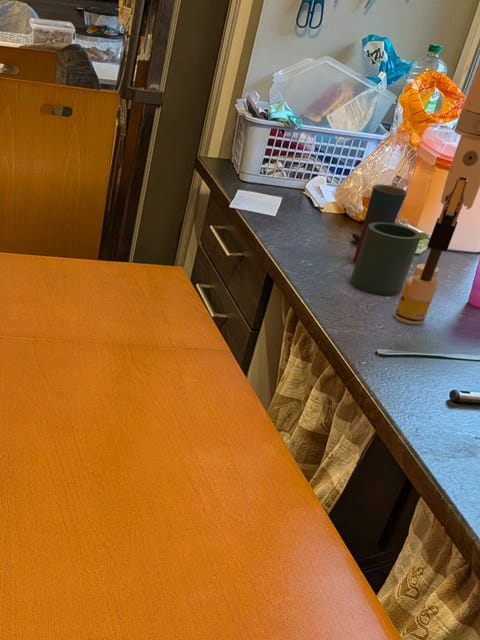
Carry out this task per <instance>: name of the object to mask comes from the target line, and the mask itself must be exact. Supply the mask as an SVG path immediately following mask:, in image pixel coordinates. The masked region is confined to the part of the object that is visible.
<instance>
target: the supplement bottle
mask: <svg viewBox="0 0 480 640" xmlns="http://www.w3.org/2000/svg"><path fill="white" fill-rule="evenodd" d="M425 264H426V263H418V264H417V265H416V267H415V269H414V272H413V274H414V275H411V276H410V277H409V278H408V279H407V280H406V281H405V282H406V283H405V285H404V288H403V291H402V293H401V296H400V299H399V301H398V304H397V307H396V310H395V312H394V317H395V319H396V320H397V321H399V322H400V323H404V324H408V325H415V326H416V325H420V324H423V323H424V321H425V319H426V316H427V314H428V311H429V308H430V306H431V304H432V300H433V298H434V295H435V293H436V290H437V287H438V284H437V285H436V288H435V290H434V293H433V295H432V298H431V300H429V301H420V300H415V299H413V298H410V297H409V296H408V291H409V289H410V286H411V283H412V280H413V277H414V276H417V275H422V272H423V269H424V267H425ZM439 271H440V270H439V268H438V267H436V269H435V271H434V274H433V277H432V278H434V279H437V276H438V274H439Z"/></svg>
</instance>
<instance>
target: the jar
mask: <svg viewBox="0 0 480 640" xmlns="http://www.w3.org/2000/svg"><path fill="white" fill-rule="evenodd" d="M421 238H422V233H421V232H419V231H418V230H416V229H414V228H412V227H409V226H407V225H404V224H403V225H402V224H399V223H387V222H374V223H371V224H369V225H368V228H367V231H366V234H365V237H364V240H363V243H362V246H361V249H360V252H359V255H358V258H357V261H356V263H355V264H354V266H353V271H352V273H351V277H350V280H349V281H350V282H349V283H350V284H351V286H352V287H355V288H356V289H358V290H360V291H363V292H366V293H370V294H373V295H377V296H378V295H379V296H395V295H399V294H400V293H401V292H402V289H403V287H404V286H405V285H404V284H405V282H406V279H407V276H408V274H409V271H410V268H411V265H412V263H413V260H414V257H415V255H416V252H417V250H418V247H419V244H420V242H421Z"/></svg>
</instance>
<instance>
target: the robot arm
mask: <svg viewBox="0 0 480 640" xmlns="http://www.w3.org/2000/svg"><path fill="white" fill-rule="evenodd" d="M453 131H454V132H453V133H455V134H456V135H459V136H460V137H459V140H458V143H457V146H456V149H455V152H454V154H453V158H452V160H451V163H450V166H449V169H448V173H447V176H446V180H445V182H444V186H443V191H442V195H441V198H440V199H441V200H440V202H441V204H442V205H443V206H442V210H441V212H440V215H439V217H437V219H436V222H435V224H434V227H433V229H432V233H431V235H430V237H429V241H428V243H427V248H428V249H431V248H432V249H437V250H442V252H447V251H448V249H449V246H450V244H451V241H452V238H453V236H454V233H455V231H456V228H457V225H458V223H459V222H458V218H459V215H460V213H461V210H462V208H463V206H464V207H466V210H470V209H472V208H473V205H474V202H475V200H476V198H477V195H478V192H479V190H480V59H479V60H478V63H477V66H476V68H475V72H474V74H473V77H472V80H471V83H470V85H469V89H468V91H467V94H466V97H465V100H464V103H463V105H462V108H461V111H460V114H459V115H458V119H457V123H456V125H455V128H454V130H453ZM442 218H443V219H442ZM453 219H454V220H453ZM441 221H442V222H441ZM451 224H452V225H451Z"/></svg>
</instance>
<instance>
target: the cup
mask: <svg viewBox="0 0 480 640" xmlns="http://www.w3.org/2000/svg"><path fill="white" fill-rule="evenodd" d="M407 195H408V191H407V190H405V189H404V188H402V187H398V186H394V185H389V184H382V183H381V184H374V185H373V187H372V191H371V193H370V198H369V201H368V205H367V208H366V213H365V216H364V220H363V224H362V228H361V231H360V234H359V238H358V242H357V246H356V250H355V253H354V258H353V262H354V263H355V264H356V261H357V258H358V255H359V252H360V249H361V246H362V243H363V240H364V237H365V234H366V231H367V228H368V225H369V224H371V223H374V222H387V223H394V224H396V220H397V218H398V216H399V213H400V211H401V208H402V206H403V204H404V201H405V198H406V197H407Z"/></svg>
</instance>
